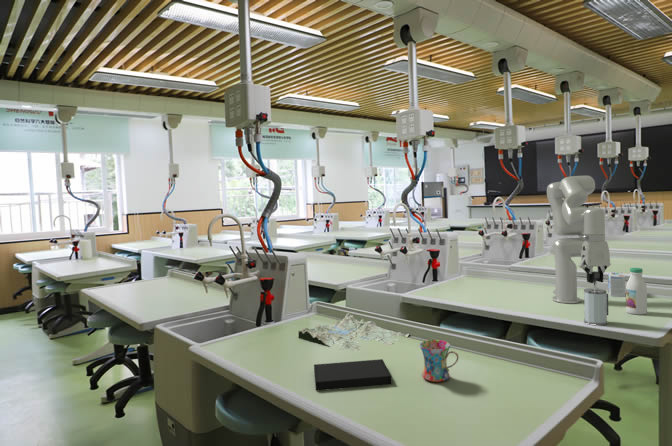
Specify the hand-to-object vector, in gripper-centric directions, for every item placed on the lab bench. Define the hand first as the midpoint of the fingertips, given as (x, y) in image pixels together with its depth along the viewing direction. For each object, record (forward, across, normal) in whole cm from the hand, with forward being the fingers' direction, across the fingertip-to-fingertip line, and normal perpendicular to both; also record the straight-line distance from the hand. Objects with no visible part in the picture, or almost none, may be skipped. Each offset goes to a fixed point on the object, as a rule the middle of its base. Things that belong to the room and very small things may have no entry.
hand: (595, 281), depth 182 cm
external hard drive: (+18, -109, -31) cm, 115 cm away
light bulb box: (+18, +43, +40) cm, 61 cm away
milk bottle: (+18, +26, +8) cm, 32 cm away
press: (+17, 0, 0) cm, 17 cm away
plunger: (+11, 0, 0) cm, 11 cm away
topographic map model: (+18, -101, +9) cm, 103 cm away
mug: (+18, -82, -38) cm, 92 cm away
